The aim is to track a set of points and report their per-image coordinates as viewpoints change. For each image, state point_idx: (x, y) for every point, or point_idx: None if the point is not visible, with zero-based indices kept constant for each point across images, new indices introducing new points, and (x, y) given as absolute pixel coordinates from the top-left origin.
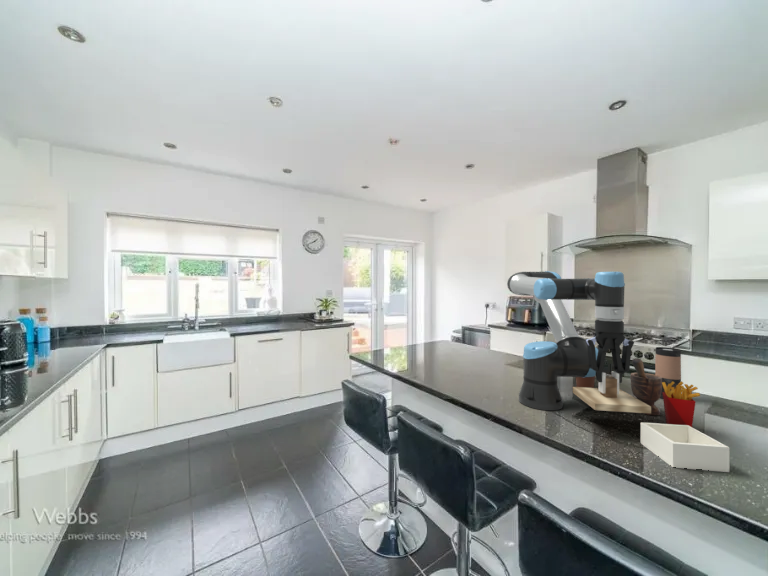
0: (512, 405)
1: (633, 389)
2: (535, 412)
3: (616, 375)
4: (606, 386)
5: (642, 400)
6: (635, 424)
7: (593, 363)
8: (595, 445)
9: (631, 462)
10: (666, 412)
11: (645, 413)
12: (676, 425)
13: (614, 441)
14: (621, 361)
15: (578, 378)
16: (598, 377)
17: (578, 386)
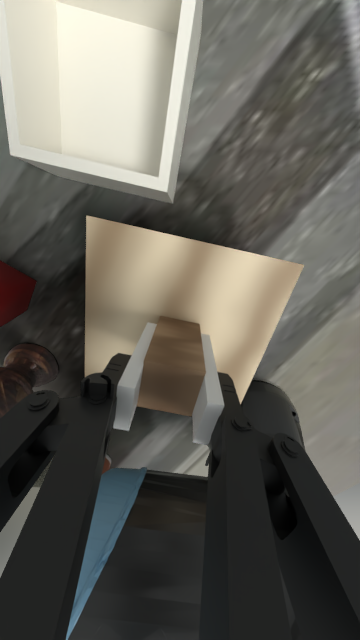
0: (319, 409)
1: None
2: (296, 376)
3: (138, 380)
4: (200, 346)
5: (26, 377)
6: None
7: (327, 504)
8: (306, 196)
9: (297, 79)
10: (7, 311)
11: (45, 351)
12: (55, 155)
13: (234, 218)
14: (11, 511)
15: None
16: (233, 392)
17: (108, 467)
